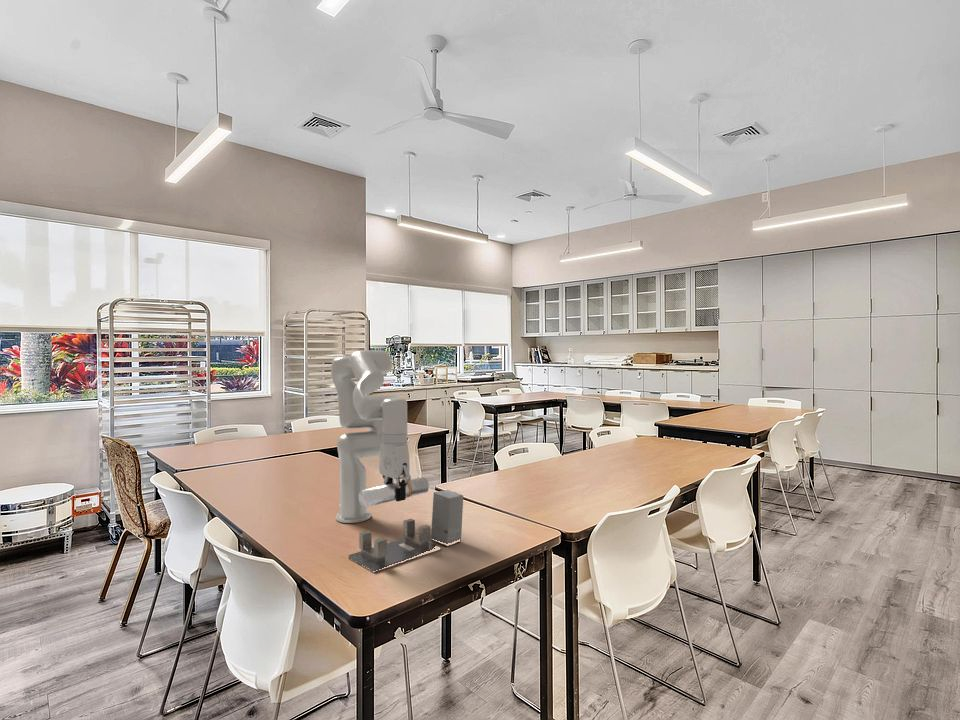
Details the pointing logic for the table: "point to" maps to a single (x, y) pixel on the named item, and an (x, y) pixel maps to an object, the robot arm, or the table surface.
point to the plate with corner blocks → (393, 547)
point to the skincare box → (447, 516)
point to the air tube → (391, 492)
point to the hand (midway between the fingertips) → (395, 497)
